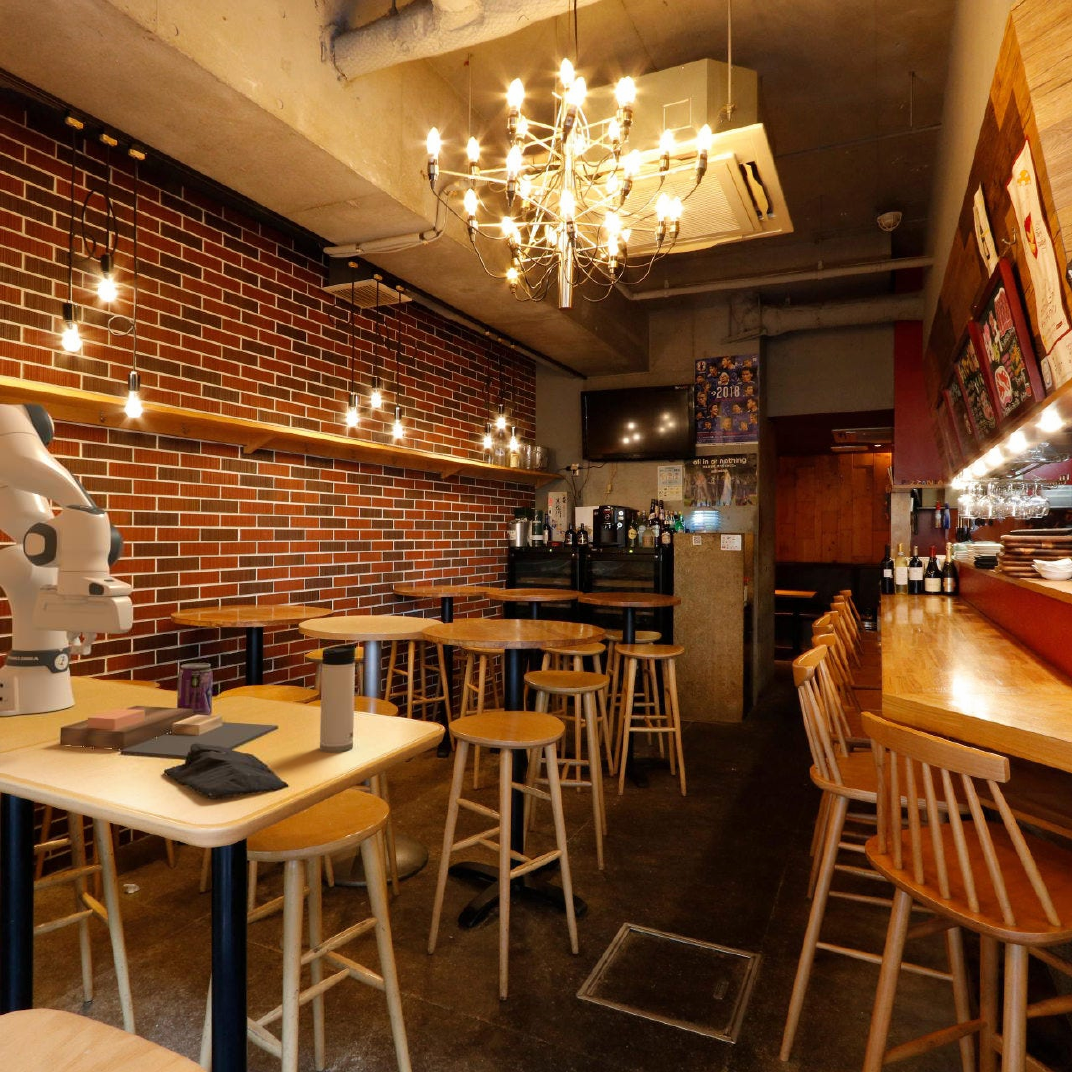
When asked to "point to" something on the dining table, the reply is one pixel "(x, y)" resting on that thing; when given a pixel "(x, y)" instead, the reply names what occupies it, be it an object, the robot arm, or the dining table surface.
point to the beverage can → (195, 688)
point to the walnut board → (125, 729)
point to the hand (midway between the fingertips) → (80, 654)
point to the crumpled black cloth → (224, 772)
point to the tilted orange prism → (116, 719)
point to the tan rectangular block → (197, 724)
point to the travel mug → (337, 698)
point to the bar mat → (200, 740)
